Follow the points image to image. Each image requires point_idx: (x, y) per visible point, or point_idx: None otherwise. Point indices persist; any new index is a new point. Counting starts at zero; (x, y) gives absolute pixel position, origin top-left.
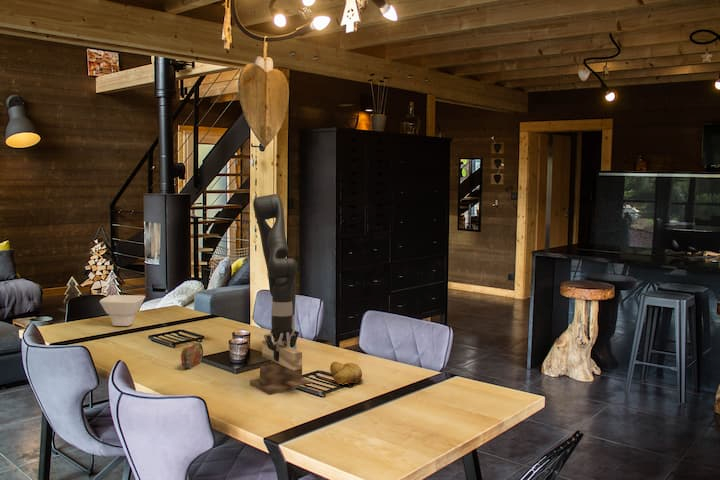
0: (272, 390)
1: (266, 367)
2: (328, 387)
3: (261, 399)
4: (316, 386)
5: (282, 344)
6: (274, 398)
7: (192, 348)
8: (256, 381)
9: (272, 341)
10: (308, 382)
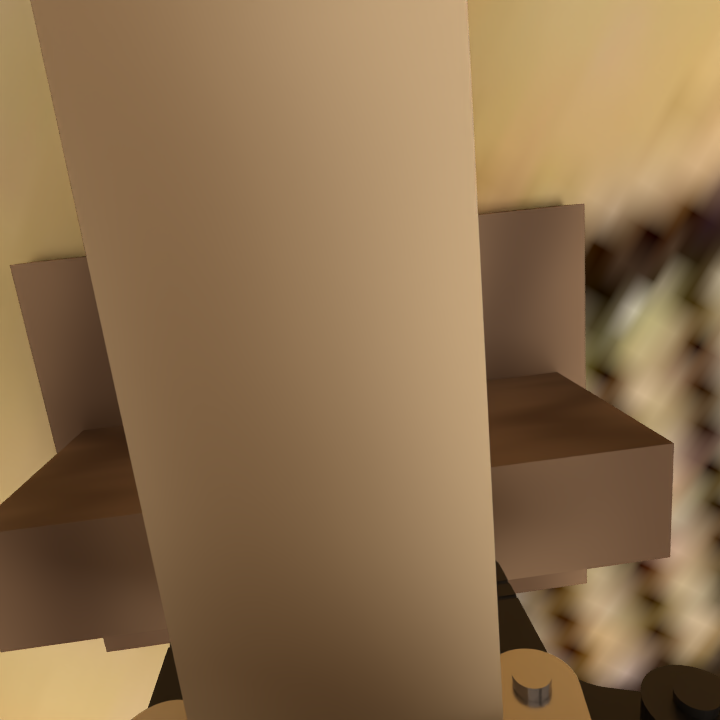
0: (142, 644)
1: (46, 636)
2: (658, 640)
3: (17, 696)
4: (591, 581)
5: (482, 688)
6: (131, 713)
7: None
8: (75, 331)
9: (360, 150)
10: (545, 583)
